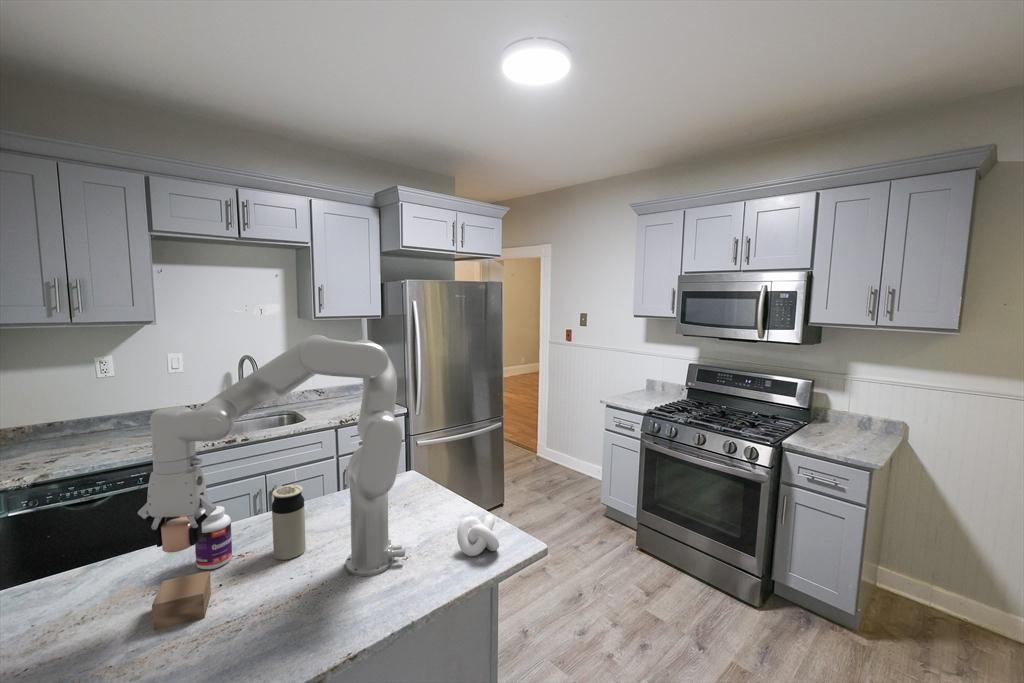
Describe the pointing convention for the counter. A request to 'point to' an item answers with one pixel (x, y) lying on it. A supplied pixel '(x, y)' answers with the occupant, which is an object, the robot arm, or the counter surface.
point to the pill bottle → (214, 540)
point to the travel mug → (288, 522)
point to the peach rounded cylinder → (175, 535)
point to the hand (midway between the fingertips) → (179, 542)
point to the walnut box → (181, 600)
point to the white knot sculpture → (477, 535)
